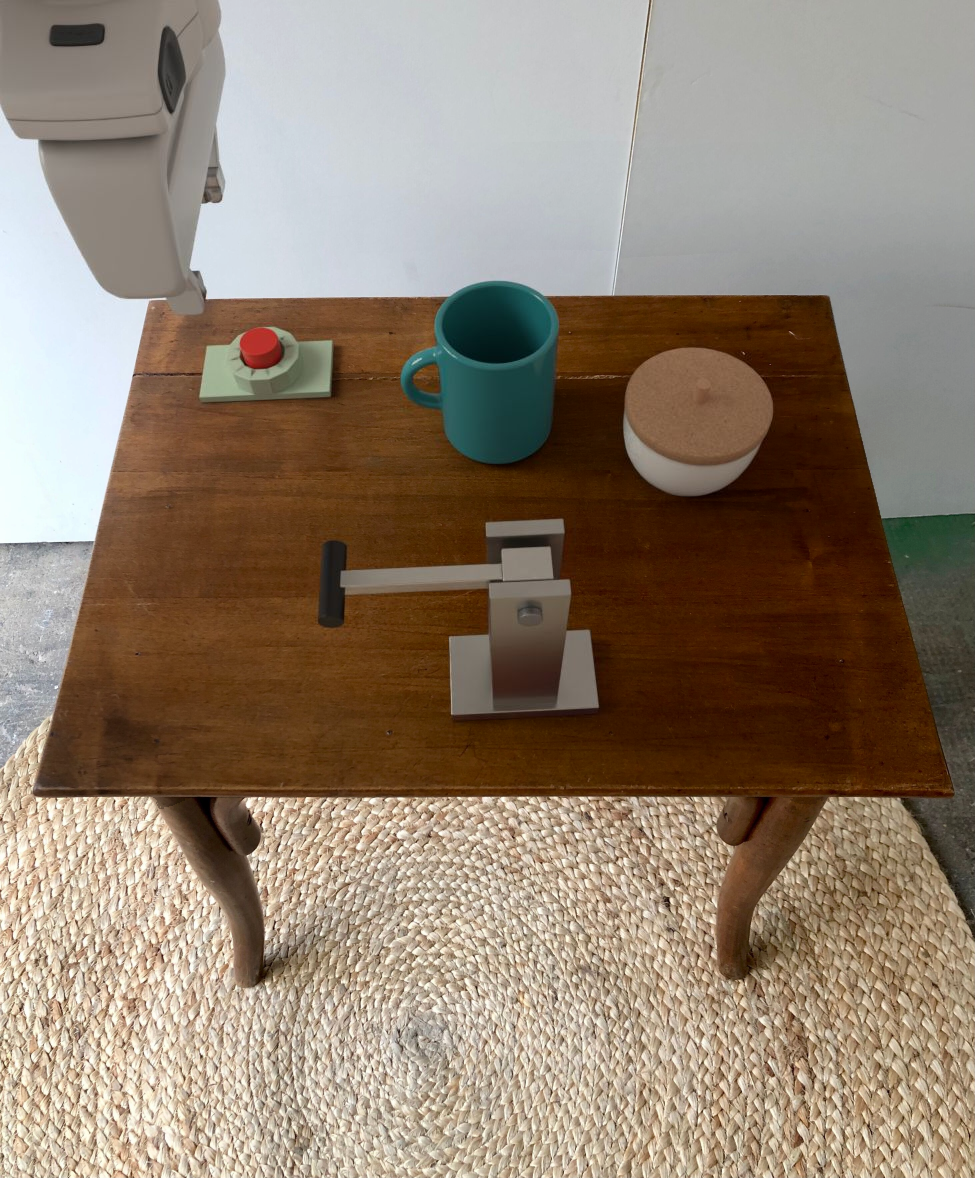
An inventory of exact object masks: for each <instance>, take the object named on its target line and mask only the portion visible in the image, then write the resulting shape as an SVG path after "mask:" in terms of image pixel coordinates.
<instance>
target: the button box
mask: <svg viewBox="0 0 975 1178" xmlns="http://www.w3.org/2000/svg"><path fill="white" fill-rule="evenodd" d="M257 328H268V329H271V330H272V331H274V332H275V333H276V334H277V336H278V340H279V343H280V346H281V350H282V358H281V360H280V362H279V363H278V364H277V365H275V366H273V367H270V368H268V369H253V368H251V367H249V366H248V365H247V364H246V362H245V360H244V357H243V354H242V351H241V348H240V339H241V337H242V336H243V335H244V334H245V333H246V332H247V331H245V332H242V333H240V334H239V335H237V336H236V338H234V340H233V341H231V343H230V344H217V345H216V344H215V345H207V346H206V350H205V357H204V363H203V370H202V375H201V376H202V377H201V382H200V383H201V384H200V390H199V396H198V397H199V400H200V402H201V403H202V404H203V403H224V402H225V403H227V402H245V401H247V402H248V401H266V400H267V401H268V400H286V399H287V400H290V399H291V400H292V399H294V400H295V399H313V398H315V399H317V398H331V397H332V384H333V383H332V381H333V365H334V351H335V350H334V349H335V348H334V347H335V345H334V341H333V340H332V339H331V340H310V341H309V340H308V341H298V340H297V339H296V338H295V337H294V336H293V335H292V333H291V332H289V331H286V330H284V329H281V328H279V327H276V326H264V327H263V326H260V327H257Z"/></svg>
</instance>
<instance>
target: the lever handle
mask: <svg viewBox="0 0 975 1178" xmlns="http://www.w3.org/2000/svg"><path fill="white" fill-rule="evenodd" d="M347 556H348V546H347V544H346V543H345V542H343V541H341V540H336V539H330V540H326V541H325V542H323V543H322V545H321V558H320V576H319V592H318V596H319V597H318V610H317V611H318V612H317V623H318V625H319V626H321V627H323V628H327V629H336V628H340V627H342V626H343V625H344V623H345V611H346V596H354V595H355V596H357V595H377V594H399V593H400V594H401V593H422V592H439V591H440V592H443V591H444V592H445V591H460V590H461V591H462V590H479V589H480V590H483V589H486V590H487V588H489V583H502V582H523V581H544V580H554V576H553V566H552V555H551V547H550V546H544V547H522V548H502V549H501V564H500V563H499V564H487V563H479V564H460V565H459V564H458V565H438V566H436V565H435V566H417V567H415V566H414V567H395V568H394V567H391V568H374V569H372V568H371V569H351V570H347V562H348V561H347V558H348V557H347Z"/></svg>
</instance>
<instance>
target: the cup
mask: <svg viewBox="0 0 975 1178" xmlns="http://www.w3.org/2000/svg"><path fill="white" fill-rule="evenodd" d="M559 334H560V319H559V316H558V313H557V311H556V308H555V307H554V305H553V304H552V302H551V301H550V300H549V299H548V298H547V297H546V296H544V295H543V294H542V293H541V292H539V291H538V290H537V289H534V288H532V287H530V286H529V285H525V284H522V283H519V282H515V281H509V280H486V281H480V282H476V283H473V284H469V285H467V286H465V287H462V288H461V289H459V290H457V291H455V292H453V293H452V294H451V295H449V296H448V297H447V299H445V300H444V302H442V304H441V305H440V307H439V309H438V310H437V313H436V316H435V319H434V339H435V344H434V346H432V347H428V348H424V349H422V350H420V351H418V352H416V353H414V354H413V355H411V356H410V357H409V358H408V359H407V360H406V361H405V363H404V364H403V366H402V368H401V371H400V378H399V379H400V380H399V381H400V386H401V390H402V391H403V393H404V395H405V396H406V397H407V399H408V400H409V401H411V402H412V403H413V404H415V405H417V406H418V407H419V406H420V407H421V408H425V409H429V410H439V411H440V412H441V419H442V427H443V431H444V434H445V436H446V439H447V440H448V441H449V443H450V444H451V445H452V447H453V448H454V449H455V450H457V452H458V453H460V454H462V455H463V456H465V457H466V458H468V459H471V460H473V461H476V462H479V463H483V464H488V465H506V464H512V463H517V462H518V461H519V462H520V461H522V460H524V459H526V458H528V457H530V456H532V455H533V454H534V453H536V452H537V451H538V450H539V449H540V448H541V447H543V446H544V444H545V442H546V441H547V440H548V438H549V436H550V434H551V432H552V431H551V430H552V426H553V419H554V404H555V403H554V402H555V393H556V392H555V390H556V379H557V378H556V376H557V364H558V363H557V362H558V349H559V348H558V347H559ZM433 365H436V366H437V373H438V382H439V383H438V384H439V392H437V393H435V392H434V393H433V392H428V391H426V390H422V389H421V388H419V387H418V386H417V385H416V384H415V383H414V377H415V375H416V374H417V373H418V372H419V371H421V370H422V369H424V368H426V367H428V366H433Z"/></svg>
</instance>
